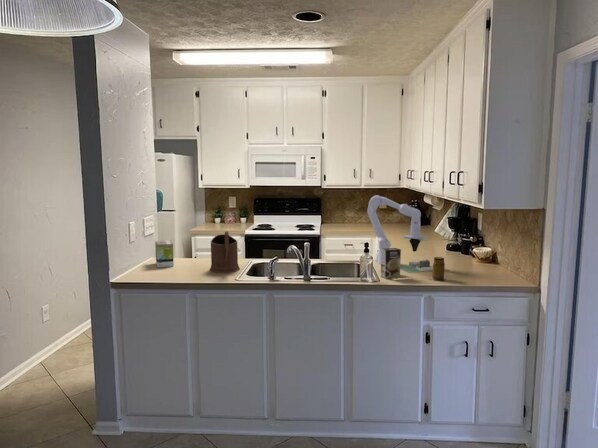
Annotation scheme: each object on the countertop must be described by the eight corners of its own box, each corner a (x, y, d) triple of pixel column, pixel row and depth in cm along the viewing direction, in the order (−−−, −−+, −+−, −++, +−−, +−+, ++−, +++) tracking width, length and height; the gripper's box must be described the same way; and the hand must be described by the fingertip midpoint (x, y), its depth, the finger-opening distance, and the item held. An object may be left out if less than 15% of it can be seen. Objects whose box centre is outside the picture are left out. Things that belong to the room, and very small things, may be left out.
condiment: (435, 276, 244) (436, 255, 243) (450, 279, 239) (450, 258, 237) (429, 279, 239) (430, 257, 237) (444, 282, 233) (445, 260, 232)
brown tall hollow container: (237, 265, 276) (236, 226, 273) (244, 273, 253) (243, 231, 250) (207, 267, 270) (206, 227, 267) (212, 276, 248) (210, 232, 244)
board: (394, 268, 266) (394, 263, 265) (420, 266, 271) (420, 261, 271) (409, 274, 249) (409, 269, 249) (436, 272, 255) (436, 267, 254)
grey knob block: (409, 265, 269) (409, 261, 269) (418, 264, 271) (419, 260, 271) (415, 267, 262) (415, 263, 262) (425, 266, 264) (425, 262, 264)
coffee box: (385, 279, 240) (386, 250, 238) (380, 276, 246) (380, 248, 244) (400, 277, 242) (401, 249, 240) (394, 275, 248) (395, 247, 246)
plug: (419, 269, 258) (419, 259, 257) (425, 268, 260) (426, 259, 259) (423, 270, 255) (423, 261, 254) (429, 269, 257) (429, 260, 256)
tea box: (174, 266, 272) (173, 243, 271) (157, 268, 269) (156, 244, 267) (171, 262, 286) (170, 239, 284) (155, 263, 283) (154, 240, 281)
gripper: (401, 228, 267) (400, 250, 269) (422, 231, 257) (421, 253, 259) (407, 227, 272) (407, 249, 274) (428, 229, 262) (428, 252, 264)
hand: (414, 251), depth 267 cm, fingers closed
